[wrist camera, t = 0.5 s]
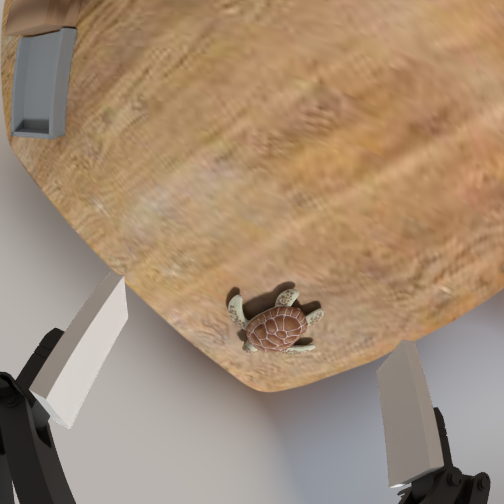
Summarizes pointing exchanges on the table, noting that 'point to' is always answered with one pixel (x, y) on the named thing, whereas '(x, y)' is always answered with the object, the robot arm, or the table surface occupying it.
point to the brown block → (41, 16)
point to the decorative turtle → (275, 325)
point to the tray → (41, 84)
